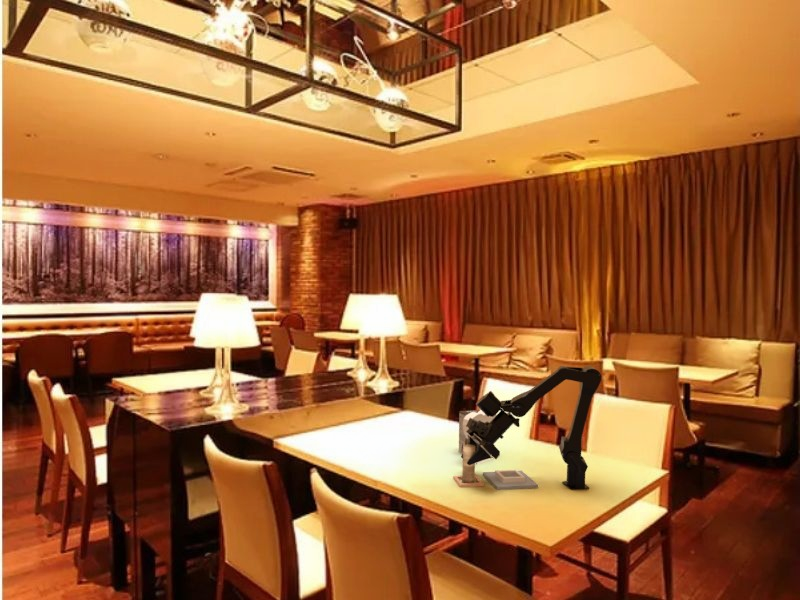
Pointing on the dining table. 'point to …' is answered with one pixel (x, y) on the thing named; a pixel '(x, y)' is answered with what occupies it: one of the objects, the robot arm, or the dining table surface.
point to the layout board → (509, 480)
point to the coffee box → (462, 437)
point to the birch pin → (468, 470)
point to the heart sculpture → (477, 417)
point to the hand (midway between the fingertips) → (464, 461)
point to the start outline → (468, 483)
